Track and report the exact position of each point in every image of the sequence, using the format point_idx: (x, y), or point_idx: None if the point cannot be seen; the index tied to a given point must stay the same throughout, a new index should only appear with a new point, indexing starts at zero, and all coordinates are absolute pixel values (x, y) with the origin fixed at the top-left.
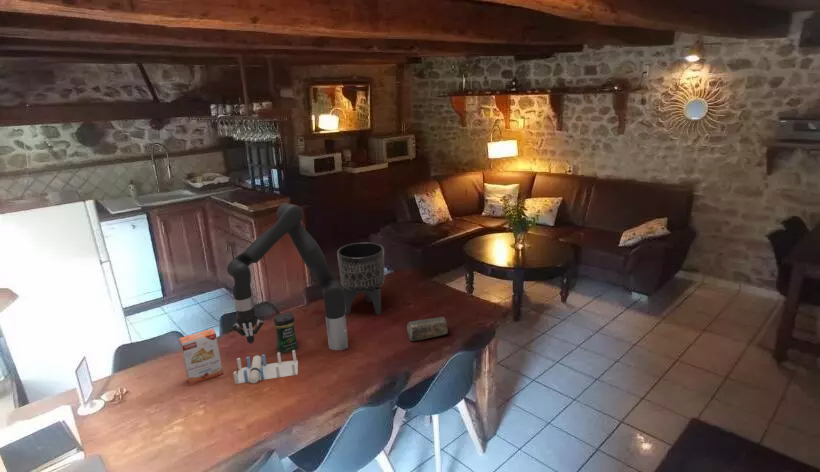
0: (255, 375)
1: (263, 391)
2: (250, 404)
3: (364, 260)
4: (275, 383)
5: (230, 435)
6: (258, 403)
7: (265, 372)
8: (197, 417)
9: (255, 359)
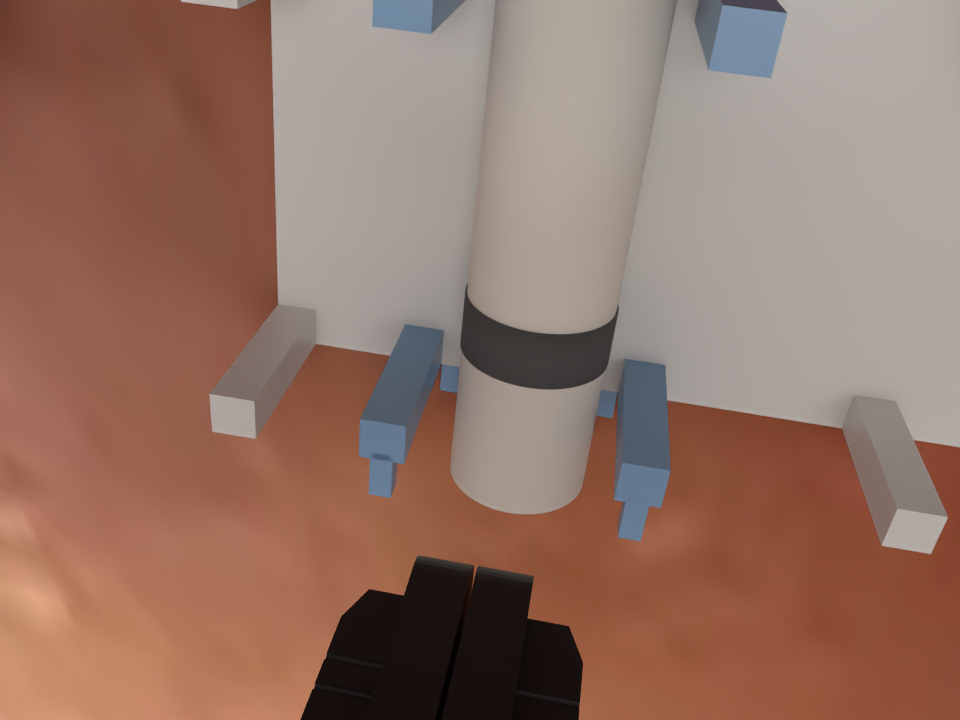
0: (544, 511)
1: (623, 563)
2: None
3: None
4: (789, 485)
5: None
6: None
7: (701, 237)
8: (32, 645)
9: (564, 45)
